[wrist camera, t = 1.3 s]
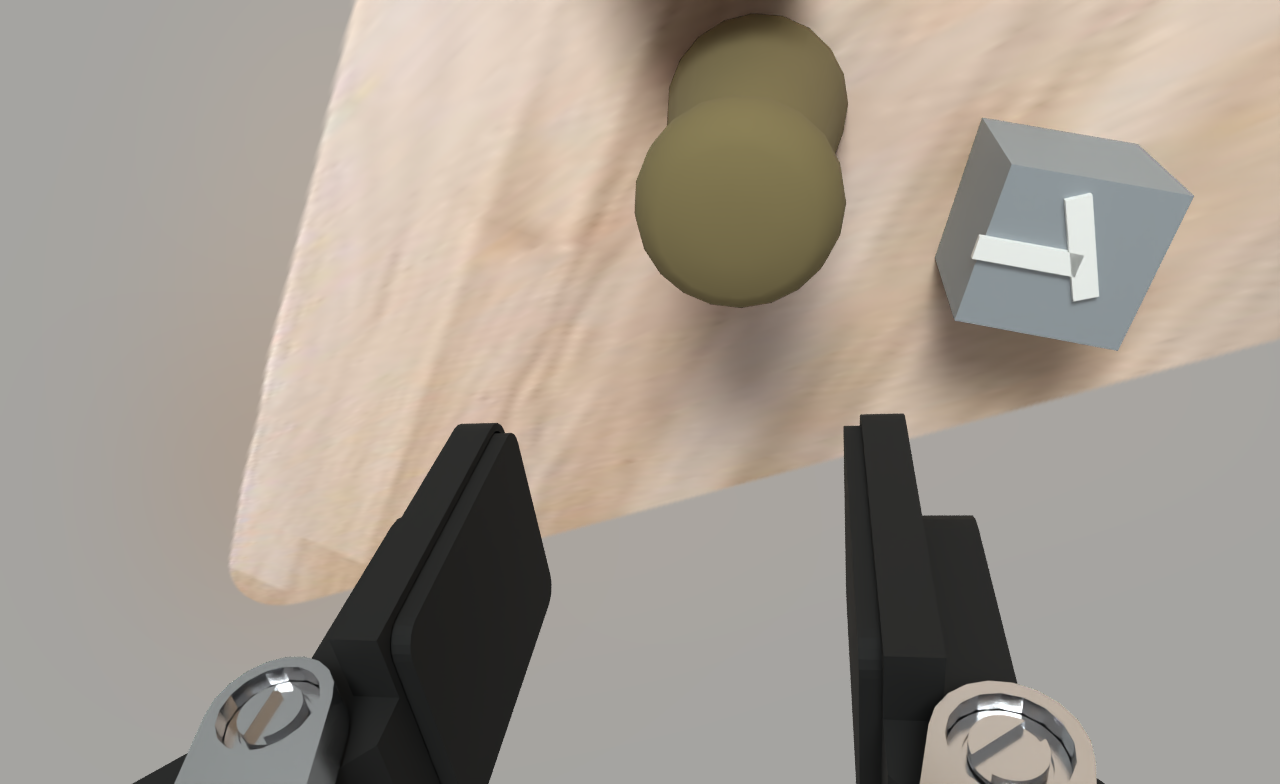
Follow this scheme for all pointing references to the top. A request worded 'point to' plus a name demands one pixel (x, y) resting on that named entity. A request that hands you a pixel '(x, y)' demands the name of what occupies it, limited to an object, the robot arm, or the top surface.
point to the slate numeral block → (1057, 233)
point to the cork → (746, 164)
